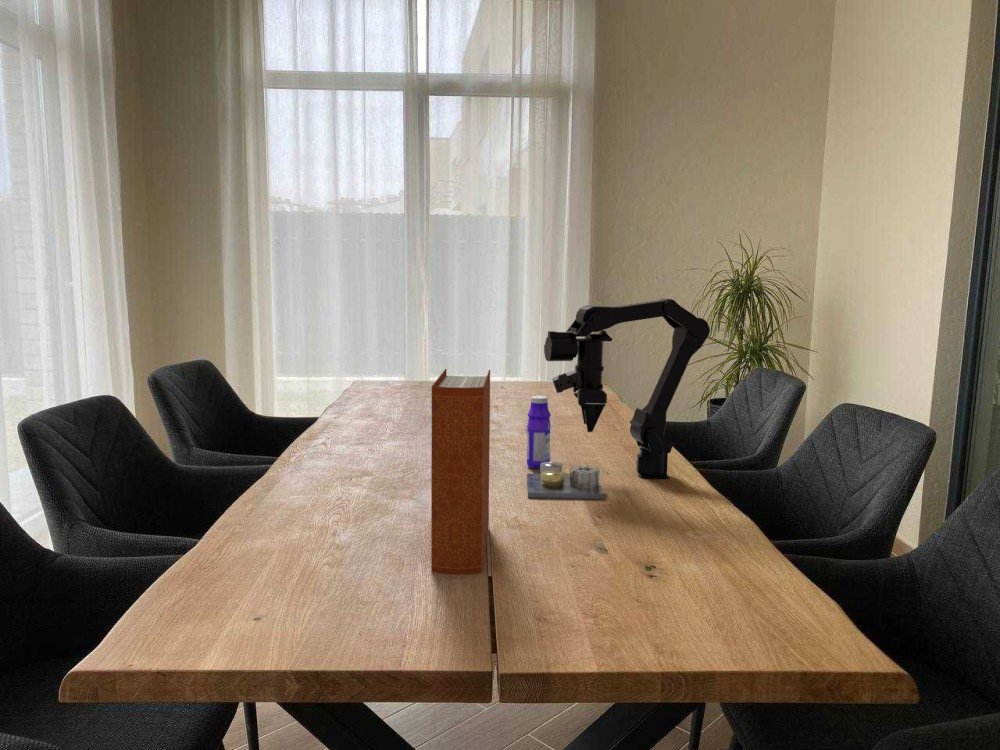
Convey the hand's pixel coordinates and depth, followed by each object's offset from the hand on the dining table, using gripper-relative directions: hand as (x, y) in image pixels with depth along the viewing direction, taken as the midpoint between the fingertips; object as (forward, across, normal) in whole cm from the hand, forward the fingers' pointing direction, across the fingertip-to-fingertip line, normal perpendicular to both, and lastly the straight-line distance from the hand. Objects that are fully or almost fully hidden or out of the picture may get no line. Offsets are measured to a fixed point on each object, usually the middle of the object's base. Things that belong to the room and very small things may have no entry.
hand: (588, 427), depth 184 cm
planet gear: (+11, +10, -1) cm, 15 cm away
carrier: (+12, +9, -6) cm, 16 cm away
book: (+12, +49, -26) cm, 57 cm away
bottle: (+12, -11, -11) cm, 20 cm away
